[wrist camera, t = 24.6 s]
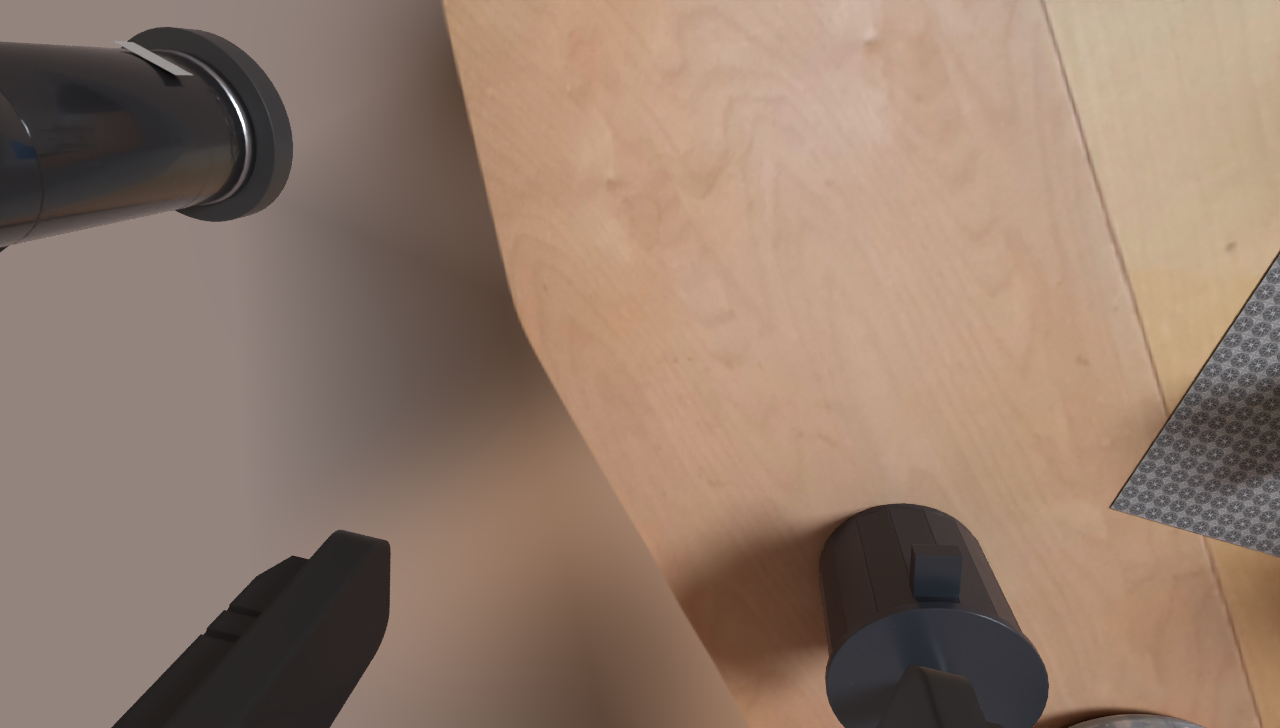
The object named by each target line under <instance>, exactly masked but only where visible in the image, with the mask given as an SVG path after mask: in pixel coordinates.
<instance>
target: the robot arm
mask: <svg viewBox="0 0 1280 728" xmlns="http://www.w3.org/2000/svg"><path fill="white" fill-rule="evenodd" d="M114 42H116V43H118V44H119V45H121V46H123V47H125V48H127V49H119V48H118V49H117V48H102V47H101V48H100V47H84V46H66V45H48V44H31V43H12V42H0V252H1V251H2V250H4V249H5V248H6V247H8V246H9V245H12V244H17V243H22V242H27V241H32V240H36V239H41V238H46V237H50V236H55V235H60V234H64V233H69V232H73V231H78V230H83V229H87V228H93V227H97V226H102V225H107V224H111V223H115V222H120V221H125V220H130V219H135V218H139V217H144V216H149V215H153V214H157V213H162V212H167V211H173V210H178V209H183V208H187V207H192V206H196V205H208V204H213V203H218V202H222V201H225V200H228V199H230V198H232V197H233V196H235V195H236V194H238V193H239V192H240V191H241V190H242V189H243V188H244V187H245V186H246V184H247V183H248V181H249V179H250V177H251V175H252V173H253V170H254V166H255V161H256V136H255V130H254V126H253V123H252V120H251V117H250V114H249V112H248V109H247V107H246V105H245V103H244V101H243V99H242V98H241V96H240V95H239V93H238V92H237V90H236V89H235V87H234V86H233V85H232V84H231V82H230V81H229V80H228V79H227V78H226V77H225V76H224V75H223V74H222V73H221V72H220V71H219V70H218V69H216V68H215V67H214V66H212V65H211V64H210V63H208V62H207V61H205V60H203V59H201V58H199V57H197V56H195V55H193V54H190V53H187V52H183V51H178V50H164V49H154V50H147V49H145V48H143V47H141V46H139V45H137V44H136V43H134V42H121V41H114ZM389 605H390V545H389V542H388V541H386V540H382V539H378V538H374V537H369V536H365V535H361V534H357V533H353V532H348V531H344V530H338V531H335V532H334V533H333V534H332V535H331V536H330V537H329V538H328V539H327V540H326V541H325V542H324V543H323V545H322V546H321V547H320V548H319V549H318V550H317V551H316V552H315V553H314V555H313V556H312V557H311V558H310V559H305V558H301V557H296V556H291V557H289V558H288V559H286V560H284V561H283V562H281V563H279V564H277V565H275V566H274V567H272V568H270V569H268V570H267V571H265V572H263V573H262V574H260V575H258V576H256V577H255V579H254V580H253V581H252V582H251V583H250V584H249V585H248V586H247V587H246V588H245V589H244V590H243V591H242V592H241V593H240V594H239V595H238V596H237V597H236V598H235V599H234V601H232V603H231V604H230V606H229V608H228V610H227V611H226V610H224V611H223V612H222V613H221V614H220V615H219V616H218V617H217V618H216V619H215V620H214V621H213V622H212V623H211V624H210V625H209V627H208V628H207V631H206V633H205V634H204V635H200V636H199V637H198V638H197V639H196V640H195V641H194V642H193V643H192V644H191V646H189V647H188V648H187V649H186V651H185V652H184V653H183V654H182V655H181V656H180V657H179V658H178V659H177V660H176V661H175V662H174V663H173V664H172V665H171V666H170V667H169V668H168V669H167V670H166V671H165V672H164V673H163V674H162V675H161V677H160V678H159V679H158V680H157V681H156V682H155V683H154V684H153V685H152V686H151V687H150V688H149V689H148V690H147V691H146V692H145V693H144V694H143V695H142V696H141V697H140V698H139V699H138V700H137V702H136V703H135V704H134V705H133V706H132V707H131V708H130V709H129V710H128V711H127V712H126V713H125V714H124V715H123V716H122V717H121V718H120V719H119V720H118V721H117V722H116V723H115V724H114V726H113V727H112V728H330V726H331V725H332V723H333V721H334V720H335V718H336V717H337V715H338V713H339V712H340V710H341V709H342V707H343V705H344V704H345V702H346V700H347V699H348V697H349V696H350V694H351V693H352V691H353V689H354V688H355V686H356V685H357V683H358V681H359V679H360V678H361V677H362V675H363V673H364V672H365V670H366V669H367V667H368V665H369V664H370V662H371V661H372V659H373V657H374V656H375V654H376V652H377V650H378V648H379V646H380V644H381V642H382V639H383V637H384V634H385V631H386V627H387V623H388V619H389V607H390V606H389ZM877 728H1004V727H1003V726H1002V725H1000V724H996V723H992V722H987V721H986V720H985V718H984V715H983V713H982V710H981V707H980V705H979V702H978V699H977V697H976V694H975V691H974V689H973V687H972V685H971V683H970V681H969V680H968V679H967V678H965V677H964V676H960V675H956V674H952V673H947V672H943V671H939V670H935V669H931V668H926V667H922V666H918V665H913V664H912V665H910V666H908V667H907V668H906V670H905V671H904V673H903V675H902V677H901V679H900V681H899V683H898V685H897V687H896V689H895V692H894V694H893V696H892V698H891V700H890V702H889V704H888V706H887V708H886V710H885V712H884V714H883V716H882V718H881V720H880V722H879V724H878V726H877Z"/></svg>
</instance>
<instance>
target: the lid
mask: <svg viewBox="0 0 1280 728" xmlns="http://www.w3.org/2000/svg"><path fill="white" fill-rule="evenodd" d="M912 664H913V665H918V666H922V667H926V668H931V669H935V670H939V671H943V672H947V673H952V674H956V675H960V676H964V677H965V678H967V679H968V680H969V681H970V683H971V685H972V687H973V689H974V691H975V694H976V697H977V699H978V702H979V705H980V707H981V710H982V713H983V715H984V718H985V720H986V721H987V722H992V723H996V724H1000V725H1002V726H1003V727H1004V728H1032V727H1033V726H1034V725H1035V724H1036V722H1037V721H1038V719H1039V718H1040V716H1041V714H1042V712H1043V710H1044V708H1045V706H1046V702H1047V698H1048V689H1049V683H1048V675H1047V672H1046V669H1045V665H1044V663H1043V661H1042V659H1041V657H1040V655H1039V653H1038V651H1037V650H1036V648H1035V646H1034V645H1033V644H1032V643H1031V641H1030V640H1029V639H1028V638H1027V637H1026V636H1025V635H1024V634H1023V633H1022V632H1021V631H1020V630H1019V629H1018V628H1016V627H1015V626H1014V625H1012V624H1011V623H1009V622H1008V621H1006V620H1004V619H1003V618H1001V617H999V616H997V615H995V614H993V613H990V612H988V611H985V610H983V609H980V608H976V607H973V606H969V605H964V604H959V603H953V602H940V601H930V602H916V603H908V604H903V605H898V606H894V607H891V608H888V609H885V610H882V611H879V612H877V613H875V614H873V615H871V616H868V617H867V618H865V619H863V620H862V621H860V622H858V623H857V624H856V625H854V626H853V627H852V628H851V629H849V630H848V631H847V632H846V633H845V634H844V635H843V636H842V637H841V638H840V640H839V641H838V642H837V644H836V645H835V647H834V648H833V650H832V652H831V654H830V657H829V659H828V663H827V666H826V674H825V681H826V691H827V696H828V700H829V704H830V706H831V708H832V710H833V712H834V714H835V715H836V717H837V718H838V720H839V721H840V723H841V724H842V725H843V726H844V727H845V728H877V726H878V724H879V722H880V720H881V718H882V716H883V714H884V712H885V710H886V708H887V706H888V704H889V702H890V700H891V698H892V696H893V694H894V692H895V689H896V687H897V685H898V683H899V681H900V679H901V677H902V675H903V673H904V671H905V670H906V668H907V667H908V666H910V665H912Z"/></svg>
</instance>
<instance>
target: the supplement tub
mask: <svg viewBox="0 0 1280 728" xmlns="http://www.w3.org/2000/svg"><path fill="white" fill-rule="evenodd" d="M1069 728H1205V727H1203V726H1200V725H1197V724H1195V723H1192V722H1189V721H1186V720H1181V719H1177V718H1172V717H1167V716H1160V715H1149V714H1123V715H1113V716H1107V717H1102V718H1097V719H1092V720H1089V721H1085V722H1082V723H1079V724H1076V725H1073V726H1071V727H1069Z"/></svg>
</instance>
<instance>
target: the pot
mask: <svg viewBox="0 0 1280 728" xmlns="http://www.w3.org/2000/svg"><path fill="white" fill-rule="evenodd" d="M819 573H820V590H821V598H822V606H823V614H824V621H825V629H826V637H827V644H828V652H829V657H830V654H831V652H832V650H833V648H834V647H835V645H836V644H837V642H838V641H839V640H840V638H841V637H842V636H843V635H844V634H845V633H846V632H847V631H848V630H849V629H851V628H852V627H853V626H854V625H856V624H857V623H858V622H860V621H862V620H863V619H865V618H867V617H868V616H871V615H873V614H875V613H877V612H879V611H882V610H885V609H888V608H891V607H894V606H898V605H903V604H908V603H916V602H930V601H940V602H953V603H959V604H964V605H969V606H973V607H976V608H980V609H983V610H985V611H988V612H990V613H993V614H995V615H997V616H999V617H1001V618H1003V619H1004V620H1006V621H1008V622H1009V623H1011V624H1012V625H1014V626H1015V627H1016V628H1018V629H1019V630H1020V631H1021V629H1020V627H1019V625H1018V623H1017V621H1016V619H1015V617H1014V615H1013V612H1012V610H1011V608H1010V606H1009V604H1008V602H1007V600H1006V598H1005V596H1004V594H1003V592H1002V590H1001V588H1000V586H999V584H998V582H997V580H996V578H995V576H994V573H993V571H992V569H991V567H990V565H989V563H988V561H987V559H986V557H985V555H984V553H983V551H982V549H981V547H980V545H979V543H978V541H977V540H976V538H975V537H974V536H973V535H972V533H971V532H970V531H969V530H968V529H967V528H966V527H965V526H964V525H963V524H962V523H960V522H959V521H958V520H956V519H955V518H953V517H951V516H950V515H948V514H946V513H944V512H941V511H939V510H936V509H933V508H930V507H926V506H921V505H915V504H890V505H884V506H879V507H875V508H871V509H868V510H866V511H863V512H860V513H859V514H857V515H855V516H853V517H851V518H850V519H848V520H847V521H845V522H844V523H842V524H841V525H840V526H839V527H838V528H837V529H836V530H835V531H834V532H833V533H832V534H831V536H830V537H829V539H828V540H827V542H826V543H825V545H824V548H823V550H822V553H821V557H820V562H819ZM1021 632H1022V631H1021Z"/></svg>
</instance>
